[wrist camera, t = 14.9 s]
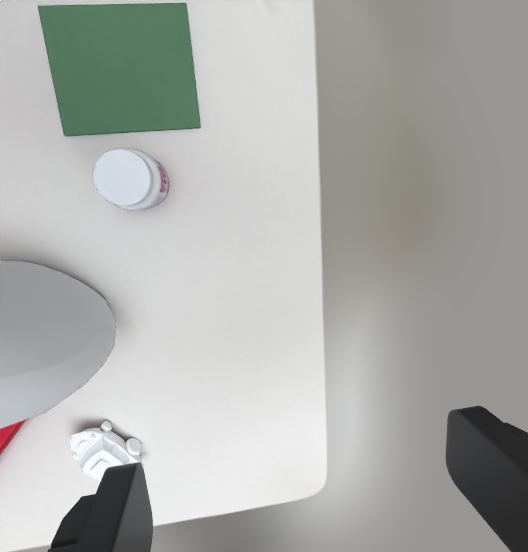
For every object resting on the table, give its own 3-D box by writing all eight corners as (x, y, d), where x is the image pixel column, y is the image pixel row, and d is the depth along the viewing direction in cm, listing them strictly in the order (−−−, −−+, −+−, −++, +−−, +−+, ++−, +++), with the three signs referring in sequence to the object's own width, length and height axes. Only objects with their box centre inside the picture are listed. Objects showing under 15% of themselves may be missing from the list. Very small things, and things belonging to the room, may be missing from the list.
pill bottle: (180, 191, 34) (169, 190, 26) (138, 217, 34) (114, 224, 26) (150, 146, 32) (129, 129, 24) (107, 173, 32) (71, 166, 24)
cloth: (186, 5, 30) (186, 2, 30) (200, 128, 33) (200, 127, 32) (39, 8, 29) (37, 5, 29) (65, 136, 31) (63, 135, 31)
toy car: (123, 477, 40) (113, 508, 36) (63, 439, 38) (45, 468, 34) (151, 448, 40) (144, 477, 36) (92, 408, 37) (78, 434, 33)
